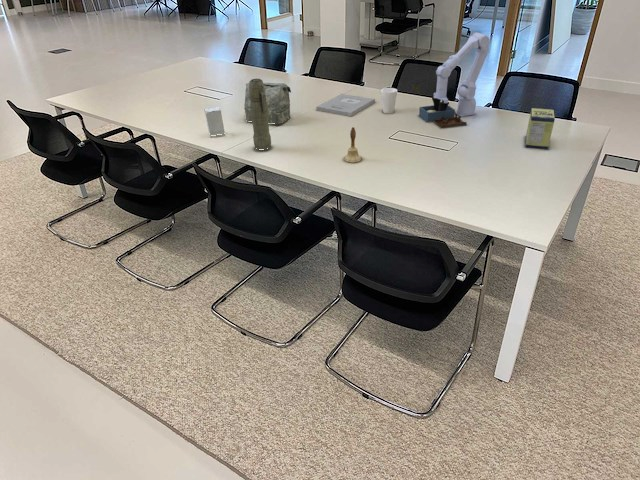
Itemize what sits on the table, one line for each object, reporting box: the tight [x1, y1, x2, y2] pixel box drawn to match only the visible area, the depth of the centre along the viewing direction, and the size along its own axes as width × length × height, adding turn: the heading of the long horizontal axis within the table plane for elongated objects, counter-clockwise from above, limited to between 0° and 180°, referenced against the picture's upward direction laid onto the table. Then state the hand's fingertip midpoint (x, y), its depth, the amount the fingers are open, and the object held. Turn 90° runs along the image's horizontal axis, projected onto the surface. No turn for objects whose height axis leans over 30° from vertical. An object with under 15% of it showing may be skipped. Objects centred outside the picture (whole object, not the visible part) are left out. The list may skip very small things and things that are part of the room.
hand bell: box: [343, 126, 362, 164], centre depth 234 cm, size 8×8×16 cm
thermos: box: [248, 78, 272, 152], centre depth 244 cm, size 9×12×35 cm
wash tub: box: [418, 104, 456, 123], centre depth 283 cm, size 17×12×5 cm
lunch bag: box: [243, 81, 292, 126], centre depth 284 cm, size 26×18×22 cm
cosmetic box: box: [204, 106, 226, 139], centre depth 268 cm, size 8×6×15 cm
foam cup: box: [380, 87, 398, 114], centre depth 291 cm, size 10×9×13 cm
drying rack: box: [433, 113, 468, 129], centre depth 273 cm, size 15×9×5 cm, turn 104°
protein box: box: [525, 107, 556, 150], centre depth 243 cm, size 10×16×16 cm
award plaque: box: [315, 93, 376, 117], centre depth 306 cm, size 25×30×2 cm
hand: (439, 111), depth 283 cm, fingers open, 7 cm apart
